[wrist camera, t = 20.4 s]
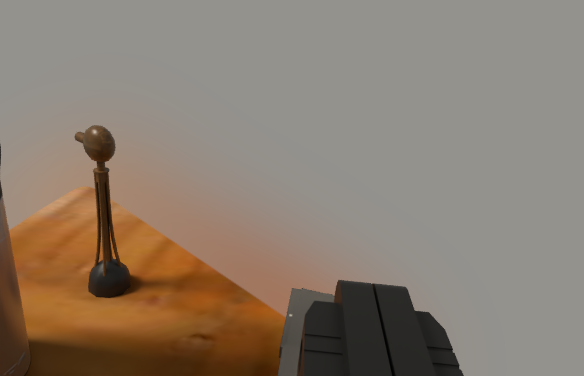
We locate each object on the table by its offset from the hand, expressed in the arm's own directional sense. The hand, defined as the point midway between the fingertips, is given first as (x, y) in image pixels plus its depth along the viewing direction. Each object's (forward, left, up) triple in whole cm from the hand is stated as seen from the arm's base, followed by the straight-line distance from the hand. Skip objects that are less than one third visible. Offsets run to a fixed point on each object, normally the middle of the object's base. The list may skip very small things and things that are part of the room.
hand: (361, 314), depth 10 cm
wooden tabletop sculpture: (-31, +29, -28) cm, 51 cm away
